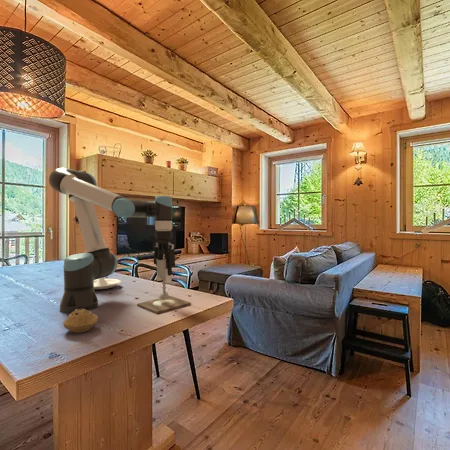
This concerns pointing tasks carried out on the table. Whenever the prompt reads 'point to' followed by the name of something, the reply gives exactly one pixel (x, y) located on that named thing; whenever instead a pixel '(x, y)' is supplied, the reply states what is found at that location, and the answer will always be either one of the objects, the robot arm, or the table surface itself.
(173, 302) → the board
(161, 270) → the chalice
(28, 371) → the table surface
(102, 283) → the candlestick
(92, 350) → the table surface
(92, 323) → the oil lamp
